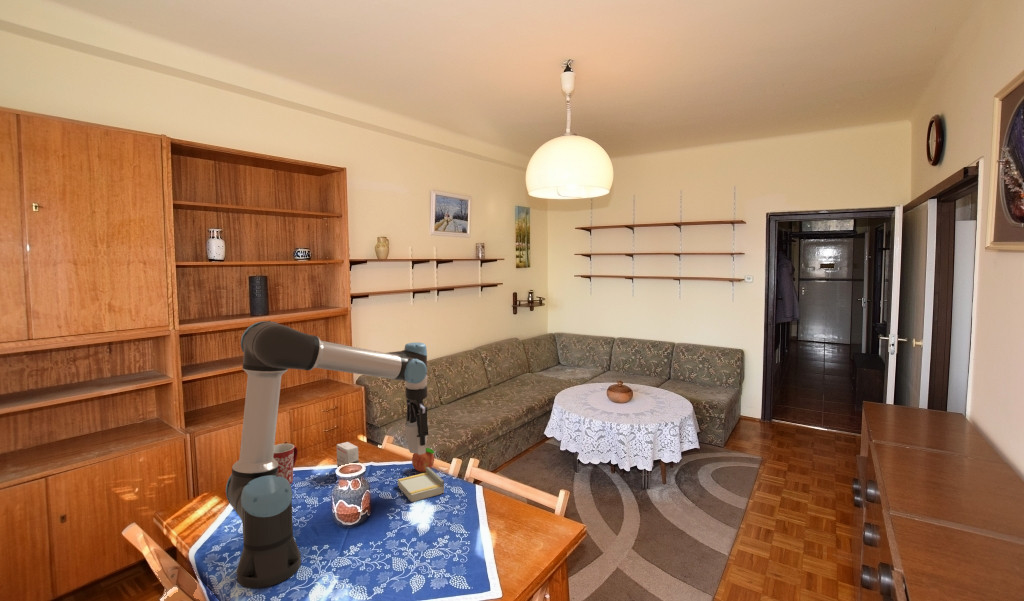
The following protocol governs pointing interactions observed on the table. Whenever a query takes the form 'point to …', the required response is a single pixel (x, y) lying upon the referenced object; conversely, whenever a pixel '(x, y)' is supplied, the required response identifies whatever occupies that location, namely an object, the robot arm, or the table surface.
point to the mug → (285, 460)
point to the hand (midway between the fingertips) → (417, 449)
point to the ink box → (347, 454)
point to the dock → (422, 485)
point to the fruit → (423, 460)
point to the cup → (412, 436)
